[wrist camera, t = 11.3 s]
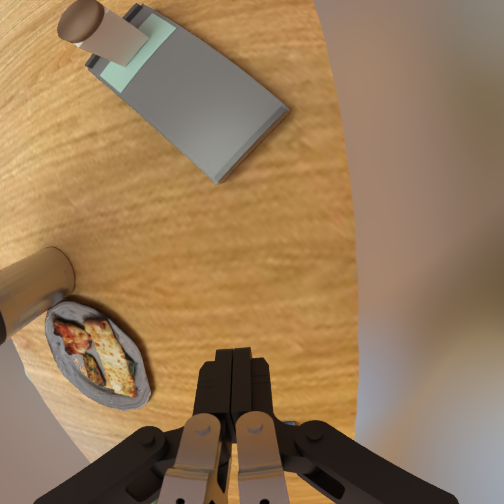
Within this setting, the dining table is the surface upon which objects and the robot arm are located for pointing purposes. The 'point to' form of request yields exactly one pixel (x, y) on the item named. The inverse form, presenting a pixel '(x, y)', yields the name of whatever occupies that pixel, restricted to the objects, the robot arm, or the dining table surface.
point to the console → (192, 94)
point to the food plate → (97, 355)
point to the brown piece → (100, 31)
